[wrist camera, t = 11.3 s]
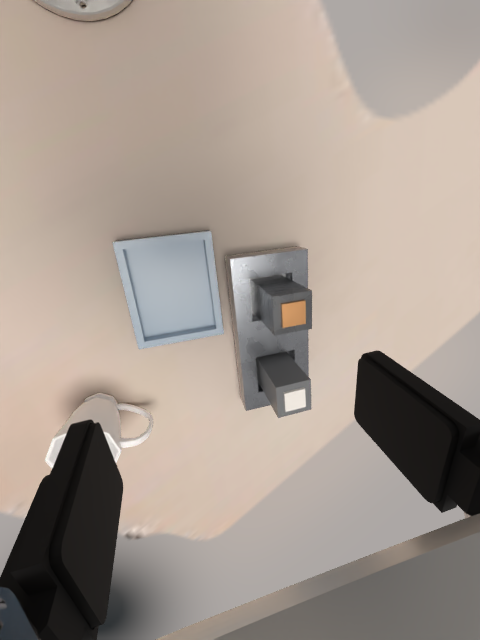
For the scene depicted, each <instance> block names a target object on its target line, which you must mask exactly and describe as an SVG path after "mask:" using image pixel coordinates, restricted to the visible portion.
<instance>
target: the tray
mask: <svg viewBox="0 0 480 640" xmlns="http://www.w3.org/2000/svg"><path fill="white" fill-rule="evenodd" d="M112 243H113V247H114V251H115V255H116V259H117V263H118V267H119V271H120V275H121V279H122V283H123V287H124V291H125V295H126V299H127V304H128V308H129V312H130V316H131V320H132V324H133V328H134V332H135V336H136V340H137V344H138V348H139V349H144V348H149V347H155V346H160V345H166V344H171V343H177V342H182V341H187V340H193V339H198V338H204V337H209V336H215V335H220V334H224V331H223V323H222V315H221V307H220V299H219V291H218V283H217V275H216V267H215V259H214V251H213V242H212V234H211V231H209V230H208V231H199V232H191V233H182V234H173V235H164V236H155V237H146V238H137V239H128V240H120V241H114V242H112Z"/></svg>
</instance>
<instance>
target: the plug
mask: <svg viewBox="0 0 480 640" xmlns="http://www.w3.org/2000/svg"><path fill="white" fill-rule="evenodd" d="M256 370H257V380H258V382H259V384H260V386H261V388H262V389H263V391H264V393H265V395H266V397H267V398H268V400H269V402H270V404H271V406H272V408H273V409H274V411H275V413H276V415H277V417H278V418H280V417H284V416H287V415H291V414H295V413H299V412H303V411H307V410H310V409H311V379H310V378H309V377H308V376H307V375H306V374H305V372H304V371H303V370H302V369H301V368H300V367H299V366H298V365H297V363H296V362H295V361H294V360H293V359H292V358H291V357H290V355H289V354H288V353H287V352H286V351H285V352H280V353H275V354H271V355H266V356H261V357H256Z"/></svg>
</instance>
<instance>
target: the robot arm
mask: <svg viewBox="0 0 480 640" xmlns="http://www.w3.org/2000/svg"><path fill="white" fill-rule="evenodd" d="M34 1H35V2H37V3H38V4H39V5H41V6H42V7H44V8H46V9H48V10H50V11H52V12H54V13H56V14H58V15H60V16H64V17H67V18H71V19H74V20H83V21H95V20H101V19H106V18H108V17H110V16H113V15H115V14H117V13H119V12H120V11H121V10H123V9H124V8H125V7H126V6H127V5H129V4H130V2H131V1H132V0H34ZM82 5H85V6H86V8H81V6H82ZM354 415H355V419H356V421H357V422H358V423H359V425H360V426H361V427H362V428H363V429H364V430H365V432H366V433H367V434H368V435H369V436H370V437H371V438H372V440H373V441H374V442H375V443H376V444H377V445H378V446H379V447H380V448H381V450H382V451H383V452H384V453H385V454H386V455H387V457H388V458H389V459H390V460H391V461H392V462H393V463H394V464H395V466H396V467H397V468H398V469H399V470H400V471H401V472H402V474H403V475H404V476H405V477H406V478H407V479H408V480H409V481H410V482H411V484H412V485H413V486H414V487H415V488H416V489H417V490H418V492H419V493H420V494H421V495H422V496H423V497H424V498H425V499H426V500H427V501H428V502H430V503H433V504H434V505H435V506H436V507H437V508H438V509H439V510H440V511H441V512H445V511H448V510H450V509H453V508H455V507H456V506H457V505H458V506H459V507H460V508H461V509H462V510H463V511H464V514H465V519H463V520H460V521H457V522H455V523H452V524H450V525H447V526H444V527H442V528H439V529H437V530H434V531H431V532H429V533H426V534H423V535H421V536H418V537H416V538H413V539H410V540H408V541H405V542H402V543H400V544H397V545H394V546H392V547H389V548H387V549H384V550H381V551H379V552H376V553H374V554H372V555H369V556H366V557H363V558H361V559H358V560H356V561H353V562H351V563H348V564H345V565H343V566H340V567H338V568H335V569H332V570H330V571H327V572H325V573H322V574H320V575H317V576H315V577H312V578H309V579H307V580H304V581H302V582H299V583H296V584H294V585H291V586H289V587H286V588H284V589H281V590H279V591H276V592H274V593H271V594H268V595H266V596H263V597H261V598H258V599H256V600H253V601H251V602H248V603H246V604H243V605H241V606H238V607H236V608H233V609H230V610H228V611H225V612H223V613H220V614H218V615H215V616H213V617H210V618H208V619H205V620H203V621H200V622H198V623H195V624H193V625H190V626H188V627H185V628H182V629H180V630H178V631H175V632H173V633H171V634H168V635H166V636H163V637H161V638H159V639H156V640H480V420H479V419H478V418H476V417H475V416H473V415H472V414H471V413H469V412H468V411H466V410H465V409H463V408H462V407H460V406H459V405H458V404H456V403H455V402H453V401H452V400H450V399H449V398H447V397H446V396H444V395H443V394H442V393H440V392H439V391H437V390H436V389H434V388H433V387H431V386H430V385H428V384H427V383H426V382H424V381H423V380H421V379H420V378H418V377H417V376H416V375H414V374H413V373H411V372H410V371H408V370H407V369H405V368H404V367H402V366H401V365H400V364H398V363H397V362H395V361H394V360H392V359H391V358H389V357H388V356H387V355H385V354H384V353H382V352H380V351H373V352H369V353H365V354H363V355H362V357H361V359H359V361H358V372H357V384H356V397H355V410H354ZM122 494H123V482H122V478H121V475H120V473H119V470H118V468H117V465H116V463H115V460H114V457H113V455H112V452H111V450H110V447H109V445H108V442H107V440H106V437H105V435H104V432H103V430H102V427H101V425H100V423H99V422H97V423H94V422H93V420H91V419H90V420H86V421H81V422H77V423H73V424H71V425H70V427H69V429H68V431H67V434H66V436H65V439H64V441H63V444H62V446H61V449H60V451H59V454H58V456H57V458H56V461H55V463H54V466H53V468H52V471H51V473H50V475H47V476H46V477H44V478H43V480H42V482H41V483H40V485H39V488H38V490H37V492H36V495H35V497H34V500H33V502H32V504H31V507H30V509H29V511H28V514H27V516H26V518H25V521H24V523H23V525H22V528H21V530H20V533H19V535H18V537H17V540H16V542H15V544H14V546H13V549H12V551H11V553H10V556H9V558H8V561H7V563H6V565H5V568H4V570H3V572H2V575H1V577H0V640H97V633H98V626H99V625H102V624H104V622H105V619H106V615H107V608H108V600H109V593H110V585H111V578H112V570H113V563H114V555H115V548H116V539H117V532H118V525H119V517H120V510H121V502H122Z"/></svg>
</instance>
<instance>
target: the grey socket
mask: <svg viewBox="0 0 480 640" xmlns="http://www.w3.org/2000/svg"><path fill="white" fill-rule="evenodd" d="M225 261H226V270H227V279H228V288H229V297H230V306H231V315H232V324H233V333H234V342H235V351H236V360H237V369H238V379H239V388H240V397H241V400H242V402H243V405H244V407H245V410H246V411H247V410H251V409H256V408H260V407H264V406H268V405H271V404H270V402H269V400H268V398H267V397H266V395H265V393H264V391H263V389H262V388H261V386H260V384H259V382H258V380H257V370H256V357H261V356H266V355H271V354H275V353H280V352H285V351H286V352H287V353H288V354H289V355H290V357H291V358H292V359H293V360H294V361H295V362H296V363H297V365H298V366H299V367H300V368H301V369H302V370H303V371H304V372H305V374H306V375H307V376H308V329H312V290H310V289H308V249H306V248H301V247H297V246H295V247H288V248H280V249H273V250H265V251H257V252H250V253H242V254H234V255H227V256H225Z"/></svg>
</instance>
